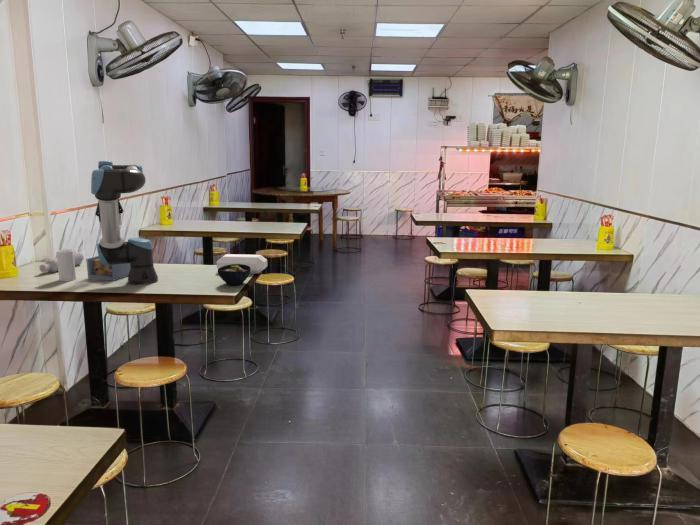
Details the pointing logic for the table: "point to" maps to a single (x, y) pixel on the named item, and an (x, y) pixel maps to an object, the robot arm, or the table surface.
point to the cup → (66, 265)
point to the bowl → (234, 274)
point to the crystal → (244, 261)
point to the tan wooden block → (101, 268)
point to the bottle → (53, 265)
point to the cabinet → (115, 273)
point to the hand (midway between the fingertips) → (111, 226)
